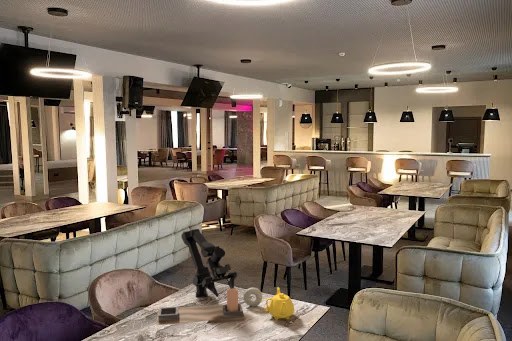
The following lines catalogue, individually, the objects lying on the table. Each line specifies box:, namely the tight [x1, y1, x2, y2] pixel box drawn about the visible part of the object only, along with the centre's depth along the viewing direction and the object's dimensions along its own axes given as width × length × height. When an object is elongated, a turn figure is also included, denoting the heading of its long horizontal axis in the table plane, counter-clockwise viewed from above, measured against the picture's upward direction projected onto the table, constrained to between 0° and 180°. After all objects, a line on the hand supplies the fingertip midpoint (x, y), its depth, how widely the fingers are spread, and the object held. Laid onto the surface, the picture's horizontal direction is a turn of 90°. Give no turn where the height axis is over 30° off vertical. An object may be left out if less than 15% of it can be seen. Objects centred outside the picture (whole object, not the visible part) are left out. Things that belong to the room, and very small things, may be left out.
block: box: [226, 287, 239, 312], centre depth 203 cm, size 4×4×12 cm
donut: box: [242, 287, 263, 307], centre depth 216 cm, size 10×4×10 cm, turn 89°
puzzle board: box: [155, 303, 246, 326], centre depth 204 cm, size 17×42×4 cm, turn 100°
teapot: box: [264, 286, 295, 321], centre depth 204 cm, size 20×15×12 cm
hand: (225, 294), depth 208 cm, fingers open, 9 cm apart
